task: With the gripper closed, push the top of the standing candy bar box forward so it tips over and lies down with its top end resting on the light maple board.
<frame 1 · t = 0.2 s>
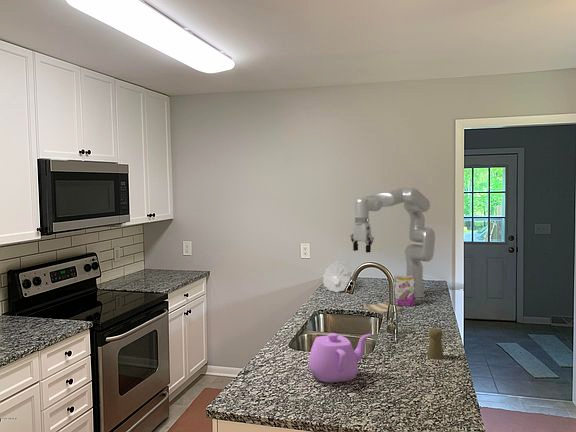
hand: (361, 251, 267), 31 cm above the worktop, tool pointing down, fingers open, 9 cm apart
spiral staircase: (337, 289, 315), on the worktop
teapot: (334, 376, 171), on the worktop
maple board: (383, 309, 262), on the worktop
brown pepper mill: (435, 357, 188), on the worktop
candy bar box: (403, 305, 272), on the worktop
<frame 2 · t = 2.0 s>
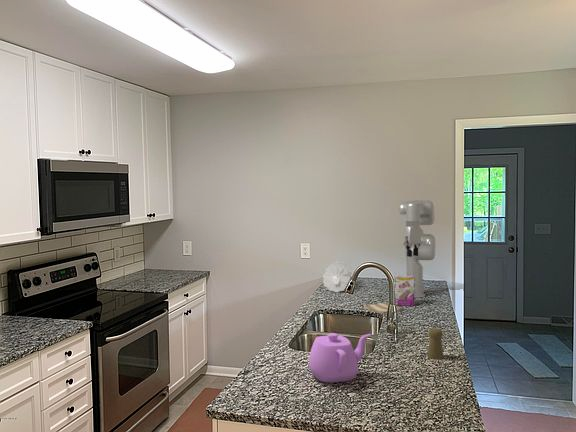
hand: (412, 255, 274), 27 cm above the worktop, tool pointing down, fingers open, 4 cm apart
nothing on the worktop moved.
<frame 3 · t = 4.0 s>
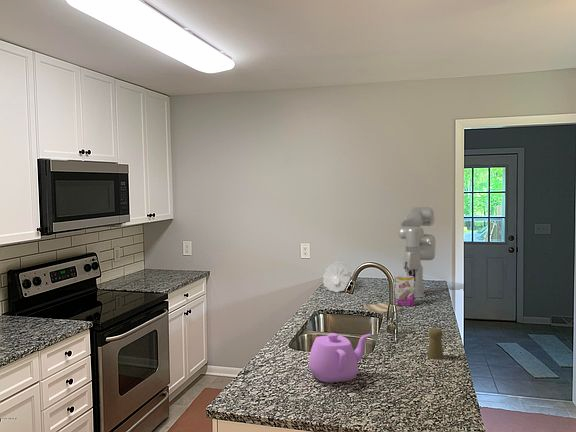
hand: (412, 281, 275), 13 cm above the worktop, tool pointing down, fingers closed
candy bar box: (403, 305, 272), on the worktop, touching gripper
everything else where it was.
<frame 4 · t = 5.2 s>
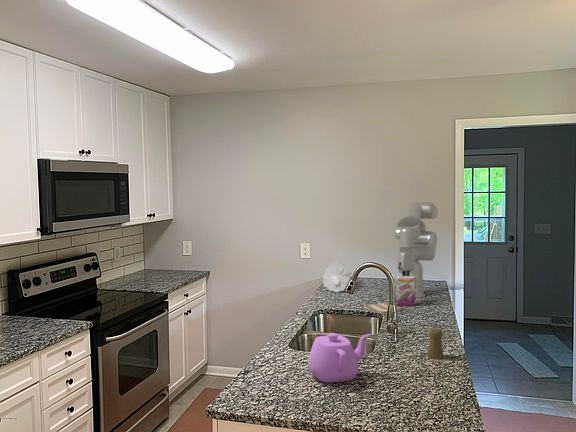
hand: (406, 282, 272), 13 cm above the worktop, tool pointing down, fingers closed
candy bar box: (403, 304, 272), on the worktop
everything else where it was.
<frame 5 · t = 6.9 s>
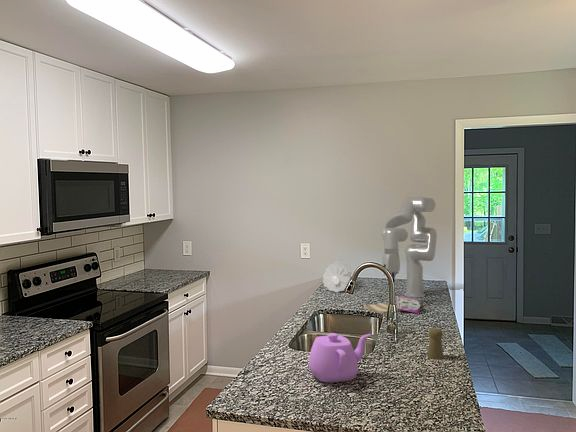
hand: (391, 284, 265), 13 cm above the worktop, tool pointing down, fingers closed
candy bar box: (406, 300, 270), point 3 cm above the worktop, touching maple board
everything else where it was.
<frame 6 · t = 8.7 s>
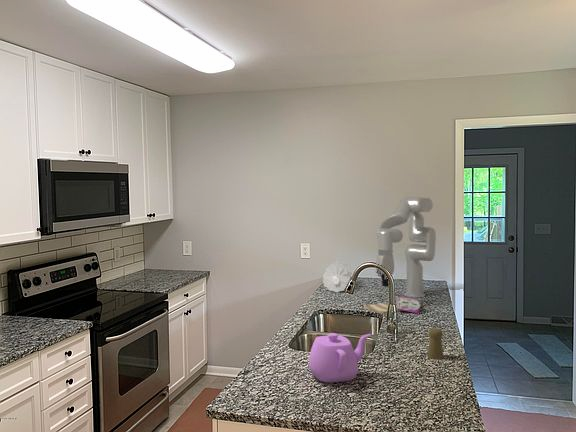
hand: (385, 286, 262), 13 cm above the worktop, tool pointing down, fingers closed
nothing on the worktop moved.
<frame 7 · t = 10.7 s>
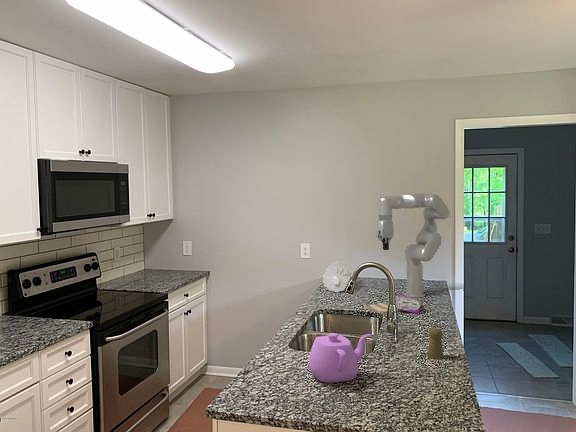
hand: (385, 249, 279), 30 cm above the worktop, tool pointing down, fingers closed
nothing on the worktop moved.
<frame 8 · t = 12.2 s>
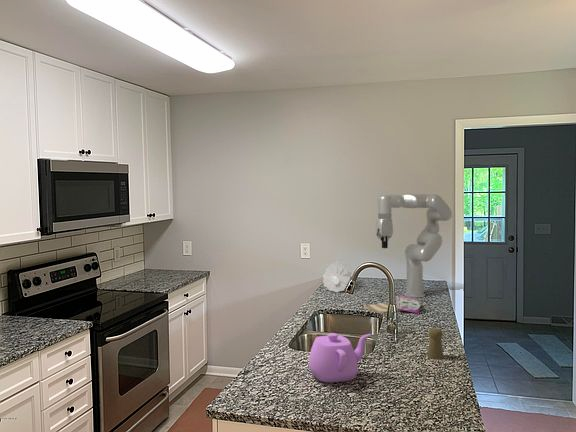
hand: (384, 247, 281), 31 cm above the worktop, tool pointing down, fingers closed
nothing on the worktop moved.
at the end: candy bar box tilted 89°; candy bar box touching maple board, worktop; candy bar box inside the target area (9.1 cm from its centre), point 3.1 cm above the worktop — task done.
